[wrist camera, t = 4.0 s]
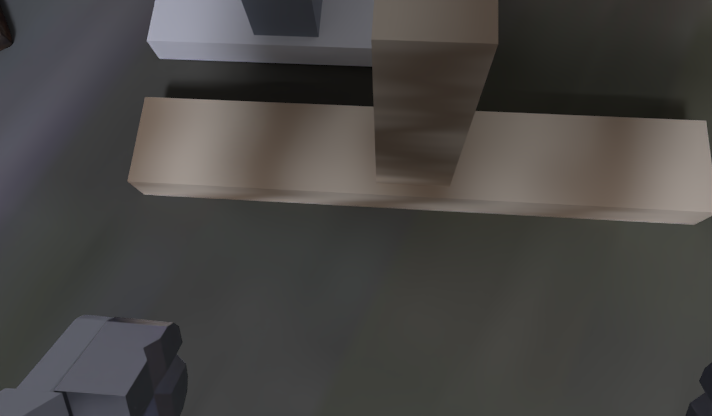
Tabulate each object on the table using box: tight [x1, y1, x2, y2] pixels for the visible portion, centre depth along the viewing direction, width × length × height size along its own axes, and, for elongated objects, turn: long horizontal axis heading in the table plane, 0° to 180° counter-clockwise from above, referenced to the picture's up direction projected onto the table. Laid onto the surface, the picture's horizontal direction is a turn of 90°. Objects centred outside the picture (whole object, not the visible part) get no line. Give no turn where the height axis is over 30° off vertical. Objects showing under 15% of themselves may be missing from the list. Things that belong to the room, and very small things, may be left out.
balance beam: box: [128, 0, 712, 225], centre depth 19 cm, size 24×4×12 cm, turn 86°
